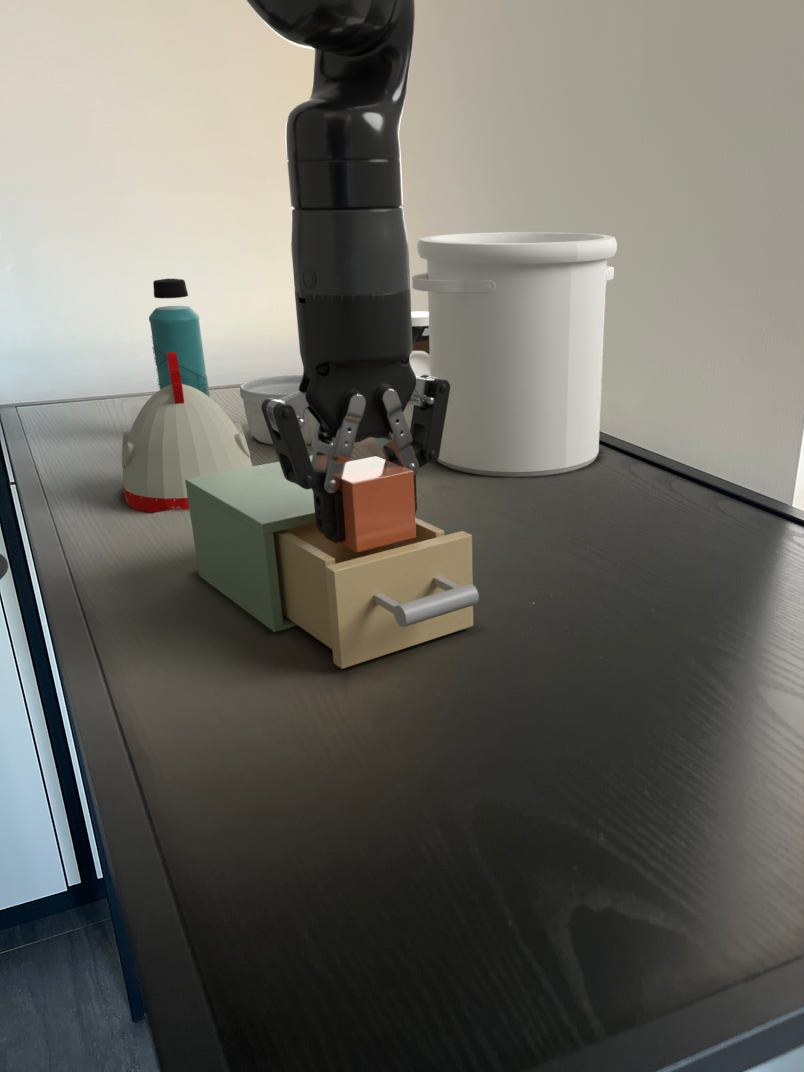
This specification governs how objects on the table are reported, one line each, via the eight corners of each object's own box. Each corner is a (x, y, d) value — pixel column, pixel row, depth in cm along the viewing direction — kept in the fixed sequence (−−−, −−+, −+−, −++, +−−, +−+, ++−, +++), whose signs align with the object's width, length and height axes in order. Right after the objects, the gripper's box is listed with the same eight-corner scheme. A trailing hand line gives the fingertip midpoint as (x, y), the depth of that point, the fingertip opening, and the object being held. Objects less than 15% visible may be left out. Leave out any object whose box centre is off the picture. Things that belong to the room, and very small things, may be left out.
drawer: (509, 646, 70) (509, 551, 67) (374, 693, 64) (367, 591, 61) (379, 573, 83) (374, 491, 80) (256, 607, 77) (245, 519, 74)
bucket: (546, 426, 134) (550, 228, 123) (655, 462, 117) (671, 237, 106) (380, 453, 122) (369, 237, 111) (475, 498, 105) (472, 248, 94)
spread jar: (431, 382, 162) (429, 309, 157) (472, 392, 154) (471, 316, 149) (370, 391, 156) (366, 315, 151) (410, 403, 148) (407, 323, 143)
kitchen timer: (248, 471, 115) (233, 340, 108) (263, 505, 103) (247, 360, 97) (125, 483, 111) (102, 348, 105) (126, 520, 99) (100, 370, 93)
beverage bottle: (209, 428, 135) (188, 275, 126) (221, 438, 129) (201, 279, 121) (161, 434, 132) (136, 277, 123) (172, 445, 127) (147, 282, 118)
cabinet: (413, 597, 81) (408, 491, 77) (275, 638, 74) (262, 524, 70) (327, 549, 91) (319, 453, 87) (199, 580, 84) (184, 479, 80)
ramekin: (351, 424, 136) (348, 373, 133) (337, 449, 124) (333, 394, 121) (257, 424, 136) (252, 374, 133) (234, 449, 124) (227, 394, 121)
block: (356, 553, 68) (351, 483, 65) (322, 534, 71) (316, 467, 69) (416, 537, 70) (413, 470, 68) (380, 520, 74) (376, 455, 72)
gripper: (412, 272, 70) (421, 500, 77) (225, 287, 62) (255, 538, 69) (475, 280, 64) (478, 524, 72) (278, 297, 57) (304, 569, 64)
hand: (368, 530), depth 71 cm, fingers closed on block, 5 cm apart
